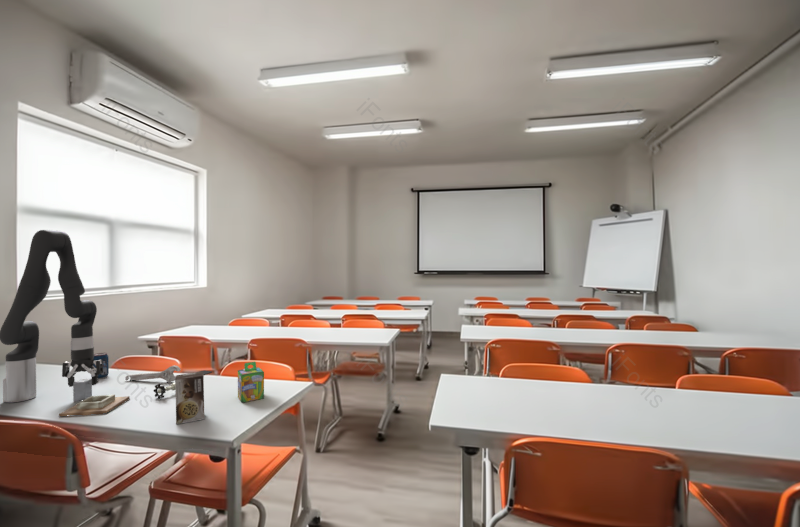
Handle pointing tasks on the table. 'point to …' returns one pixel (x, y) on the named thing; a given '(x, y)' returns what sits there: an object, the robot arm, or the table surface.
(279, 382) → the table surface
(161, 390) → the valve
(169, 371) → the wrench
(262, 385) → the chalk box
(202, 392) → the printed cardboard box
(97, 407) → the collar base
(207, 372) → the phone
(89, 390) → the block
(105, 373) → the soda can
